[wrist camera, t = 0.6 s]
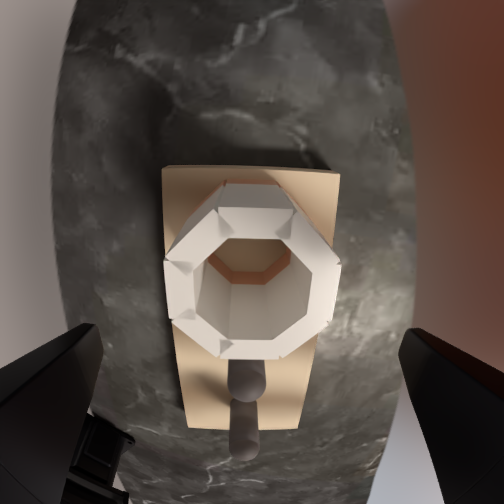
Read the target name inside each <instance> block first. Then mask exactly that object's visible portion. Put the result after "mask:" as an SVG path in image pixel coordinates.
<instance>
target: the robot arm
mask: <svg viewBox="0 0 504 504" xmlns="http://www.w3.org/2000/svg"><path fill="white" fill-rule="evenodd" d="M103 352H104V349H103V344H102V341H101V337H100V333H99V329H98V327H97V326H96V325H95V324H89V323H83V324H81V325H79V326H77V327H75V328H73V329H71V330H70V331H68V332H66V333H64V334H62V335H60V336H58V337H57V338H55V339H53V340H51V341H49V342H48V343H46V344H44V345H42V346H41V347H38V348H37V349H35V350H33V351H31V352H29V353H28V354H26V355H24V356H22V357H21V358H19V359H17V360H15V361H14V362H12V363H10V364H8V365H6V366H4V367H2V368H1V369H0V504H128V501H129V493H128V492H125V491H121V490H118V489H116V488H114V487H112V486H113V482H114V478H115V474H116V471H117V467H118V464H119V460H120V457H121V455H122V454H123V453H124V452H126V451H127V450H128V449H130V448H131V447H132V446H134V445H135V442H136V441H135V440H134V439H133V438H131V437H129V436H127V435H125V434H123V433H121V432H120V431H118V430H116V429H114V428H112V427H110V426H109V425H107V424H105V423H103V422H102V421H100V420H98V419H97V418H95V417H93V416H92V415H90V414H88V413H87V411H88V408H89V405H90V402H91V399H92V396H93V393H94V389H95V385H96V380H97V376H98V372H99V369H100V365H101V361H102V357H103ZM398 356H399V361H400V364H401V368H402V371H403V375H404V378H405V382H406V385H407V389H408V393H409V396H410V399H411V402H412V405H413V408H414V410H415V413H416V415H417V418H418V421H419V424H420V427H421V429H422V432H423V435H424V438H425V441H426V444H427V447H428V450H429V453H430V456H431V459H432V462H433V466H434V469H435V472H436V475H437V479H438V482H439V486H440V489H441V492H442V496H443V500H444V503H445V504H504V373H503V372H501V371H499V370H498V369H496V368H494V367H492V366H490V365H488V364H487V363H485V362H483V361H481V360H479V359H477V358H475V357H473V356H472V355H470V354H468V353H466V352H464V351H462V350H460V349H459V348H457V347H455V346H453V345H451V344H449V343H447V342H445V341H443V340H442V339H440V338H438V337H436V336H434V335H432V334H430V333H428V332H426V331H425V330H423V329H421V328H409V329H407V330H406V332H405V334H404V337H403V340H402V343H401V345H400V348H399V352H398Z"/></svg>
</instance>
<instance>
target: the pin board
mask: <svg viewBox="0 0 504 504" xmlns="http://www.w3.org/2000/svg"><path fill="white" fill-rule="evenodd" d="M227 179H259V180H275V182H278V183H279V184H280V185H281V186H282V187H283V188H284V189H285V190H286V191H287V193H288V194H289V195H290V196H291V197H292V198H293V199H294V200H295V201H296V203H297V204H298V205H299V206H300V207H301V208H302V209H303V210H304V212H305V213H306V214H307V215H308V216H309V218H310V219H311V220H312V222H313V223H314V224H315V226H316V227H317V229H318V230H319V231H320V233H321V234H322V235H323V237H324V238H325V239H326V241H327V242H328V244H329V245H330V246H331V248H332V243H333V236H334V228H335V219H336V210H337V201H338V191H339V181H340V174H338V173H336V172H334V171H331V170H319V169H305V168H289V167H269V166H240V165H168V166H166V167H164V168H162V198H163V222H164V240H165V254H167V252H168V250H169V249H170V247H171V245H172V244H173V242H174V240H175V239H176V237H177V235H178V234H179V232H180V230H181V229H182V227H183V225H184V224H185V222H186V220H187V219H188V217H189V216H190V214H191V212H192V211H193V210H194V209H195V208H196V207H197V206H198V205H199V204H200V203H201V202H202V201H203V200H204V199H205V198H206V197H207V196H208V195H209V194H210V193H211V192H212V191H213V190H214V189H215V188H217V187H218V186H219V185H220V184H221V183H222V182H223V181H224V180H225V181H226V182H227ZM286 247H287V245H286V244H285V243H284V242H283V241H282V240H281V239H250V238H228V239H227V240H226V241H225V242H223V243H222V244H221V245H220V246H219V247H218V248H217V249H216V250H215V251H214V252H213V253H214V254H215V255H216V256H217V257H218V258H219V259H220V260H221V261H222V262H223V263H224V264H225V265H226V266H227V267H229V268H230V269H231V270H232V271H244V272H264V271H265V270H266V269H267V268H268V267H269V266H271V265H272V264H273V263H274V262H275V261H277V260H278V259H279V258H280V257H281V256H282V255H284V254H285V253H286ZM172 327H173V335H174V343H175V350H176V357H177V364H178V371H179V378H180V384H181V390H182V396H183V402H184V407H185V413H186V418H187V423H188V427H192V428H206V429H229V451H230V453H231V455H232V456H233V457H234V458H236V459H237V460H240V461H248V460H251V459H253V458H254V457H256V455H257V454H258V452H259V449H260V446H259V430H272V429H295V428H298V424H299V420H300V416H301V411H302V407H303V403H304V399H305V394H306V390H307V386H308V381H309V376H310V372H311V367H312V362H313V357H314V352H315V347H316V342H317V337H318V333H317V334H316V335H315V336H313V337H312V338H310V339H309V340H308V341H306V342H305V343H304V344H302V345H301V346H299V347H298V348H297V349H295V350H294V351H292V352H291V353H289V354H288V355H287V356H285V357H284V358H282V357H281V356H279V359H275V360H251V359H220V355H219V356H217V357H215V356H214V355H212V354H211V353H210V352H208V351H207V350H206V349H204V348H203V347H202V346H200V345H199V344H198V343H197V342H195V341H194V340H193V339H191V338H190V337H189V336H188V335H186V334H185V333H184V332H183V331H181V330H180V329H179V328H178V327H176V326H175V325H174V324H173V323H172Z"/></svg>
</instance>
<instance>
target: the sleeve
mask: <svg viewBox="0 0 504 504" xmlns="http://www.w3.org/2000/svg"><path fill="white" fill-rule="evenodd" d="M228 238H250V239H281V240H282V241H283V242H284V243H285V244H286V245H287V247H286V253H285V254H284V255H282V256H281V257H280V258H279V259H278V260H277V261H275V262H274V263H273V264H272V265H271V266H269V267H268V268H267V269H266V270H265V271H264V272H244V271H232V270H231V269H230V268H229V267H227V266H226V265H225V264H224V263H223V262H222V261H221V260H220V259H219V258H218V257H217V256H216V255H215V254H214V253H213V252H214V251H215V250H216V249H217V248H218V247H219V246H220V245H221V244H222V243H223V242H225V241H226V240H227V239H228ZM339 261H341V260H340V259H339V258H338V256H337V255H336V253H335V252H334V251H333V249H332V248H331V246H330V245H329V244H328V242H327V241H326V239H325V238H324V237H323V235H322V234H321V233H320V231H319V230H318V229H317V227H316V226H315V224H314V223H313V222H312V220H311V219H310V218H309V216H308V215H307V214H306V213H305V212H304V210H303V209H302V208H301V207H300V206H299V205H298V204H297V203H296V201H295V200H294V199H293V198H292V197H291V196H290V195H289V194H288V193H287V191H286V190H285V189H284V188H283V187H282V186H281V185H280V184H279V183H278V182H275V180H259V179H227V182H226V181H225V180H224V181H223V182H222V183H221V184H220V185H219V186H218V187H217V188H215V189H214V190H213V191H212V192H211V193H210V194H209V195H208V196H207V197H206V198H205V199H204V200H203V201H202V202H201V203H200V204H199V205H198V206H197V207H196V208H195V209H194V210H193V211H192V212H191V214H190V216H189V217H188V219H187V220H186V222H185V224H184V225H183V227H182V229H181V230H180V232H179V234H178V235H177V237H176V239H175V240H174V242H173V244H172V245H171V247H170V249H169V250H168V252H167V254H166V255H165V259H164V261H163V263H164V275H165V285H166V295H167V305H168V314H169V319H172V321H171V322H172V323H173V324H174V325H175V326H176V327H178V328H179V329H180V330H181V331H183V332H184V333H185V334H186V335H188V336H189V337H190V338H191V339H193V340H194V341H195V342H197V343H198V344H199V345H200V346H202V347H203V348H204V349H206V350H207V351H208V352H210V353H211V354H212V355H214V356H215V357H217V356H219V355H220V359H251V360H275V359H279V356H281V357H282V358H284V357H285V356H287V355H288V354H289V353H291V352H292V351H294V350H295V349H297V348H298V347H299V346H301V345H302V344H304V343H305V342H306V341H308V340H309V339H310V338H312V337H313V336H315V335H316V334H317V333H319V332H320V331H321V330H323V329H324V328H325V327H327V326H328V325H329V323H328V321H332V316H333V311H334V306H335V301H336V295H337V290H338V284H339V278H340V272H341V266H342V265H341V263H340V262H339Z"/></svg>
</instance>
